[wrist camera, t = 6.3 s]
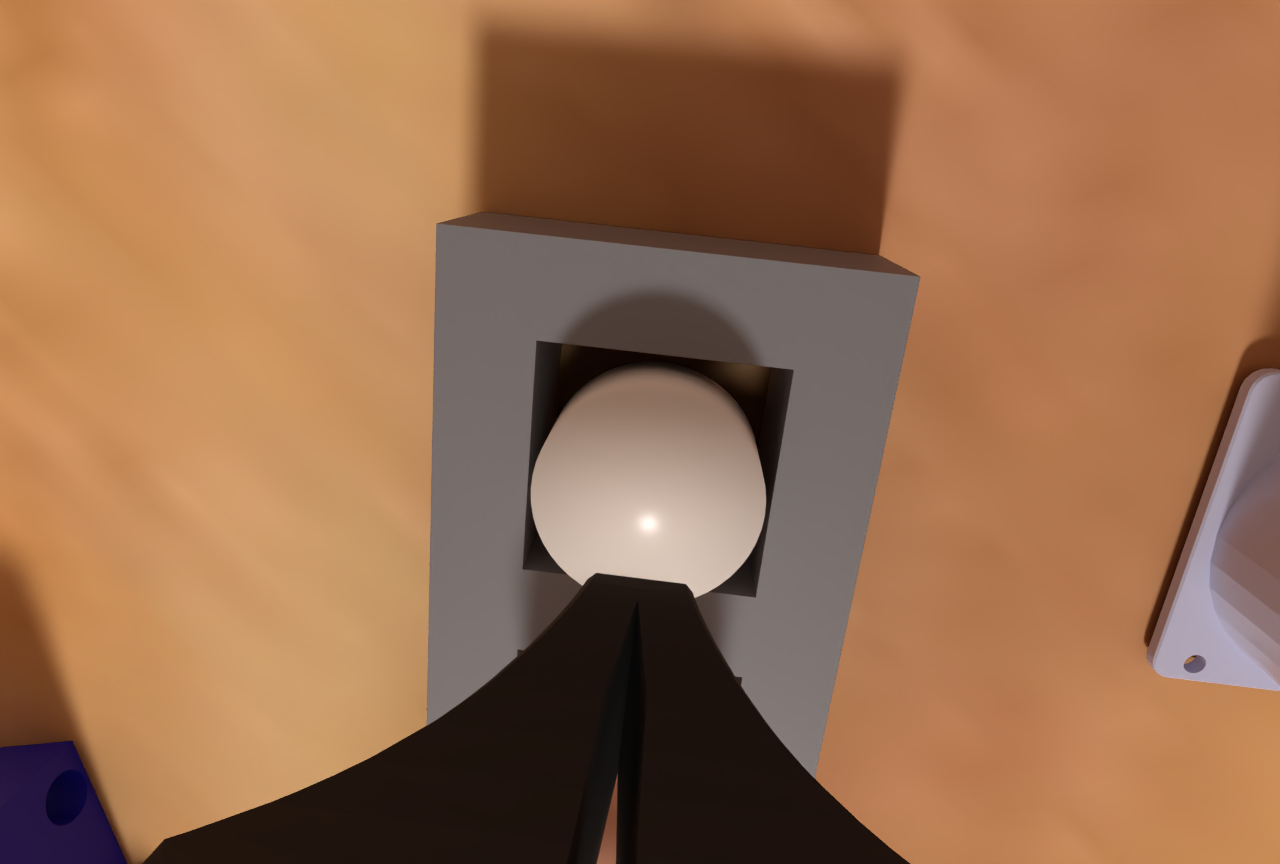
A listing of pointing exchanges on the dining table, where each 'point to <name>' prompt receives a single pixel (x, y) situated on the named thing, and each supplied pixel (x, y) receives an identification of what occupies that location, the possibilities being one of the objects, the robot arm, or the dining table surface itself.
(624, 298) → the mount
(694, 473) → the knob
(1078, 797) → the dining table surface
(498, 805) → the robot arm
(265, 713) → the dining table surface
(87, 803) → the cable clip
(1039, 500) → the dining table surface
